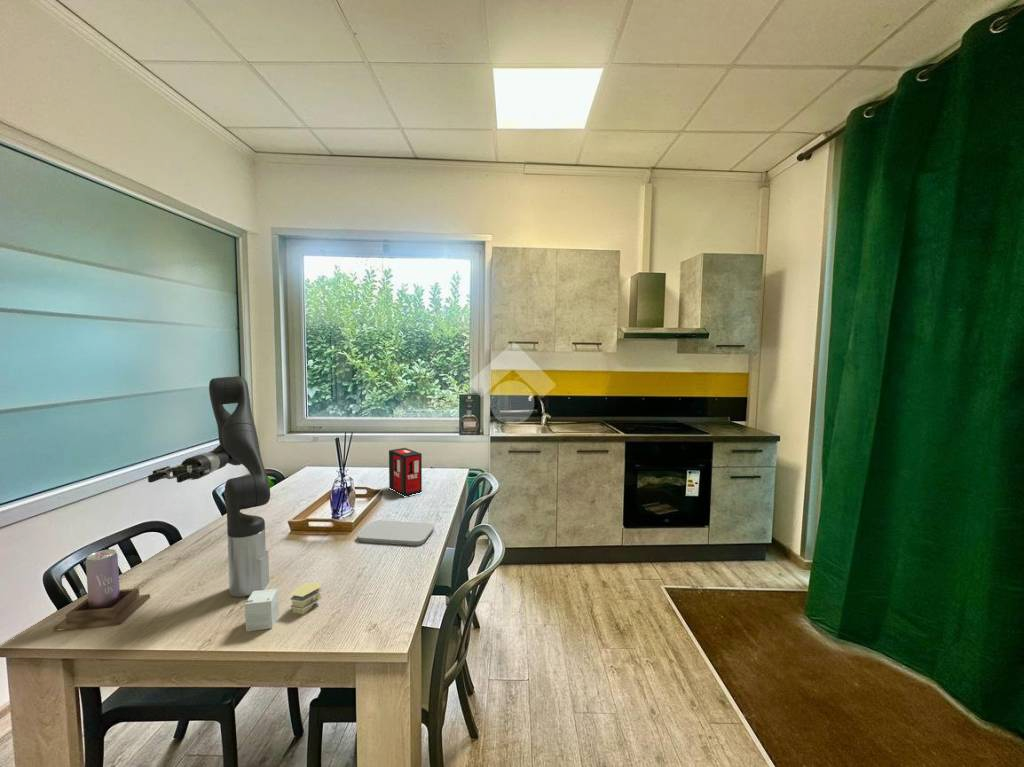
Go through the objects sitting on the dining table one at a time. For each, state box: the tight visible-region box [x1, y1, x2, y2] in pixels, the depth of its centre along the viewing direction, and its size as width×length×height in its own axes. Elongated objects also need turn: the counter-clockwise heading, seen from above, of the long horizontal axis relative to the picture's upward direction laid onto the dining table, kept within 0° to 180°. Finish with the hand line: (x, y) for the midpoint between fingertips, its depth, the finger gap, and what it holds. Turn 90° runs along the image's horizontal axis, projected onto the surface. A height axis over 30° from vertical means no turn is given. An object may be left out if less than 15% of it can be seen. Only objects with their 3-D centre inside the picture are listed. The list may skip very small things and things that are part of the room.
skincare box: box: [244, 588, 280, 632], centre depth 108 cm, size 6×6×7 cm
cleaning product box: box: [388, 447, 423, 497], centre depth 212 cm, size 16×9×20 cm, turn 43°
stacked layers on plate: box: [289, 582, 323, 615], centre depth 115 cm, size 10×9×6 cm
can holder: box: [53, 587, 151, 631], centre depth 111 cm, size 14×12×4 cm
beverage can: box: [85, 548, 121, 610], centre depth 111 cm, size 6×6×15 cm
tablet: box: [356, 519, 435, 546], centre depth 161 cm, size 16×26×2 cm, turn 83°
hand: (163, 479), depth 129 cm, fingers open, 8 cm apart
